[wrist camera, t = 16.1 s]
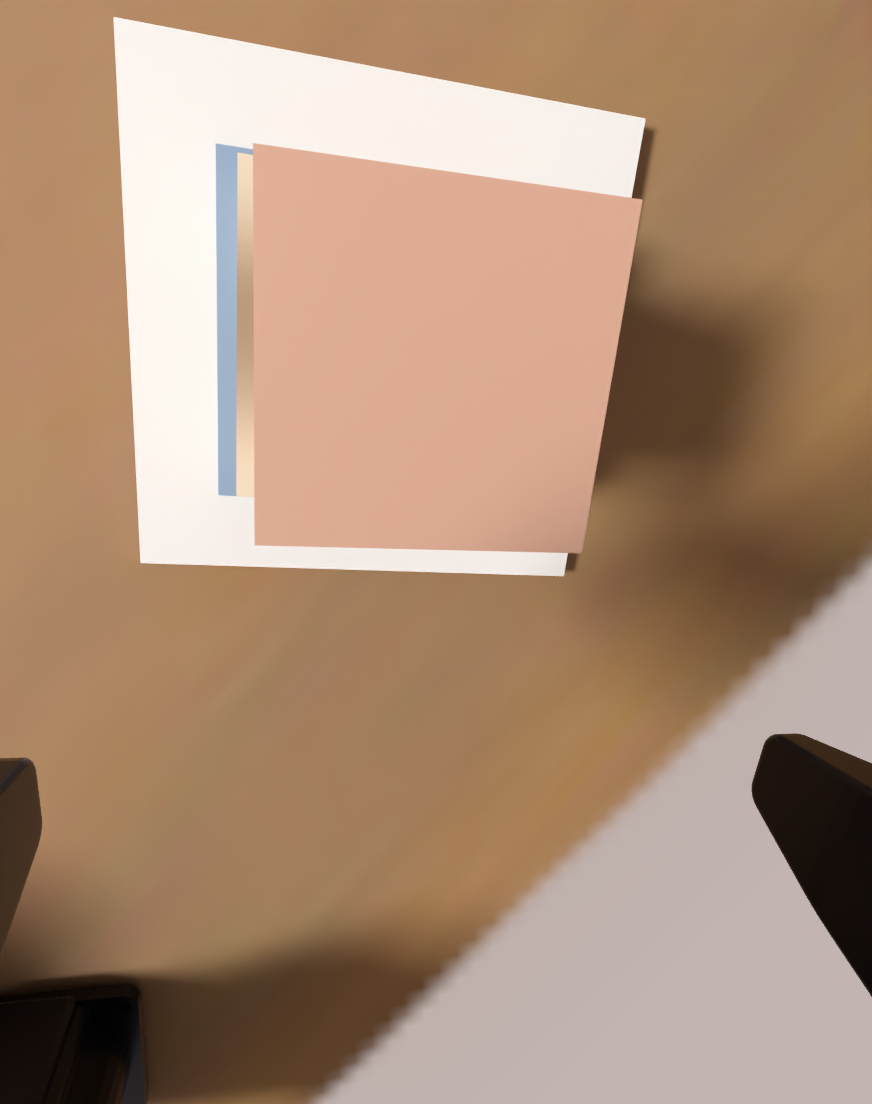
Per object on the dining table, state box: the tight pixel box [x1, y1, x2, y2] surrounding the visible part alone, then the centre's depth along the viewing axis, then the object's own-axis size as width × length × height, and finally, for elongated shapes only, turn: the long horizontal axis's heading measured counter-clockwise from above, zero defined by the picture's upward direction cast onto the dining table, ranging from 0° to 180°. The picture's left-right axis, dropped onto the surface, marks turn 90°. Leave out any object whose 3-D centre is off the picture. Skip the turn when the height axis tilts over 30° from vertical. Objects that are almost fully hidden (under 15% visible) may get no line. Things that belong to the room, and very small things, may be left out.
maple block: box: [236, 153, 254, 497], centre depth 15 cm, size 6×6×3 cm
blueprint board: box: [114, 17, 645, 576], centre depth 16 cm, size 12×12×1 cm
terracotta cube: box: [253, 143, 643, 553], centre depth 11 cm, size 5×5×5 cm
